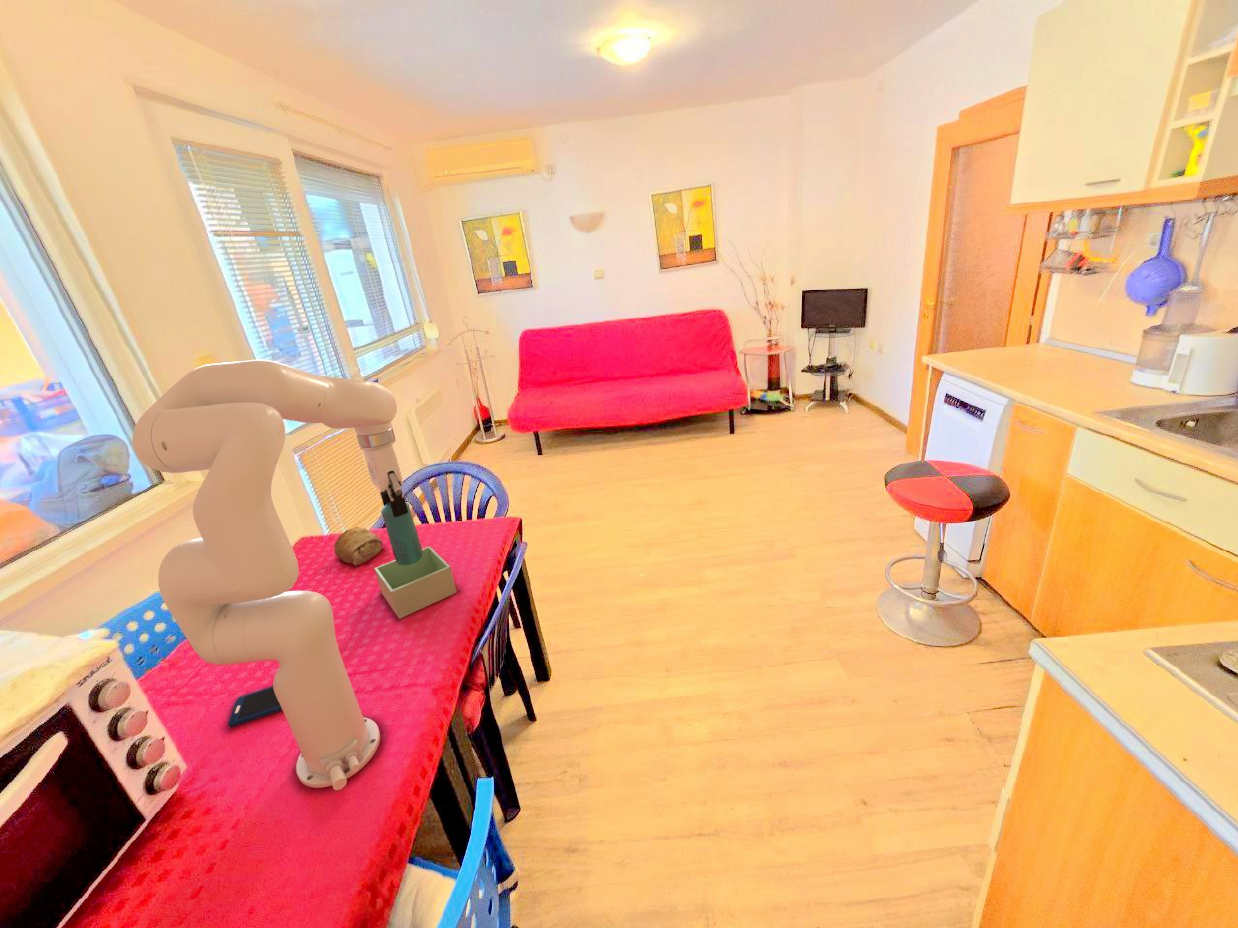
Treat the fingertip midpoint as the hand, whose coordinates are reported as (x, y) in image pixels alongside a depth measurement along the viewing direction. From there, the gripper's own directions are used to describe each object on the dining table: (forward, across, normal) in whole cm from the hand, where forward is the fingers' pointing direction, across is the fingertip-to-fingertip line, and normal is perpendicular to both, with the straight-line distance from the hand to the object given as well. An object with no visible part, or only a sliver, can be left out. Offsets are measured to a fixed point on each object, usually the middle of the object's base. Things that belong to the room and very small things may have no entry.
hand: (396, 509), depth 118 cm
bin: (+24, 0, 0) cm, 24 cm away
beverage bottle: (+15, 0, 0) cm, 15 cm away
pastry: (+24, -33, -6) cm, 41 cm away
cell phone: (+24, +15, -33) cm, 43 cm away
